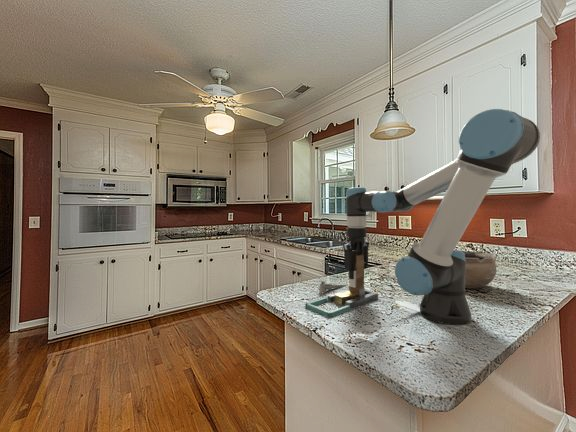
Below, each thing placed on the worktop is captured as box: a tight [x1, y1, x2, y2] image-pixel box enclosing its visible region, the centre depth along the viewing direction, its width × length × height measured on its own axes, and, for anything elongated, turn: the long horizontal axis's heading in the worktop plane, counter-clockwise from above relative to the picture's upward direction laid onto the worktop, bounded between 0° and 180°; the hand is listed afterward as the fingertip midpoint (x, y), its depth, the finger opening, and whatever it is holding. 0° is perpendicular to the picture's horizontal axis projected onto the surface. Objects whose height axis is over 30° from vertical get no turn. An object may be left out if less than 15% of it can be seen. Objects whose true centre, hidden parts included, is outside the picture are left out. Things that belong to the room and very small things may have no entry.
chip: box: [344, 291, 358, 300], centre depth 104 cm, size 4×4×3 cm
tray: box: [305, 296, 351, 318], centre depth 97 cm, size 12×10×2 cm
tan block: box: [334, 293, 350, 306], centre depth 102 cm, size 4×4×3 cm
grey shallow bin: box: [326, 288, 379, 310], centre depth 106 cm, size 12×17×3 cm
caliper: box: [318, 280, 348, 295], centre depth 120 cm, size 20×1×6 cm, turn 131°
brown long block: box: [348, 254, 366, 297], centre depth 107 cm, size 6×4×17 cm, turn 37°
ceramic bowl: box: [462, 250, 498, 289], centre depth 125 cm, size 22×22×15 cm
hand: (356, 285), depth 107 cm, fingers closed on brown long block, 4 cm apart
